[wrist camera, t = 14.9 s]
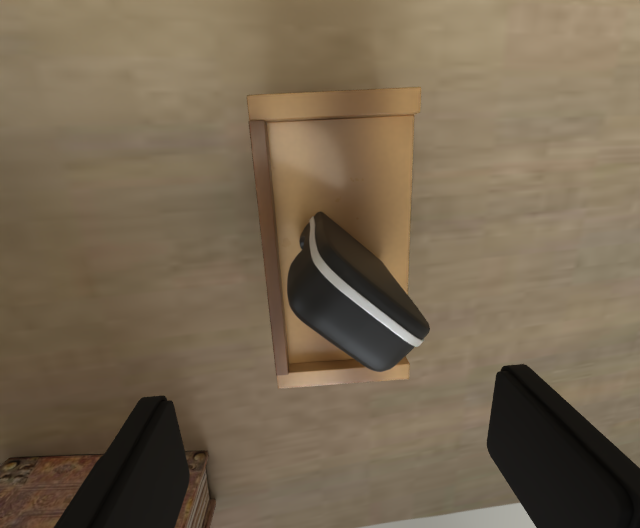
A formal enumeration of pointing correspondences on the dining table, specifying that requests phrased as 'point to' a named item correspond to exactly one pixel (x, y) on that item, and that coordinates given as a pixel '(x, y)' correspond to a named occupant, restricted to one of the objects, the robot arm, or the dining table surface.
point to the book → (66, 478)
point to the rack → (331, 204)
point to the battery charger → (352, 297)
